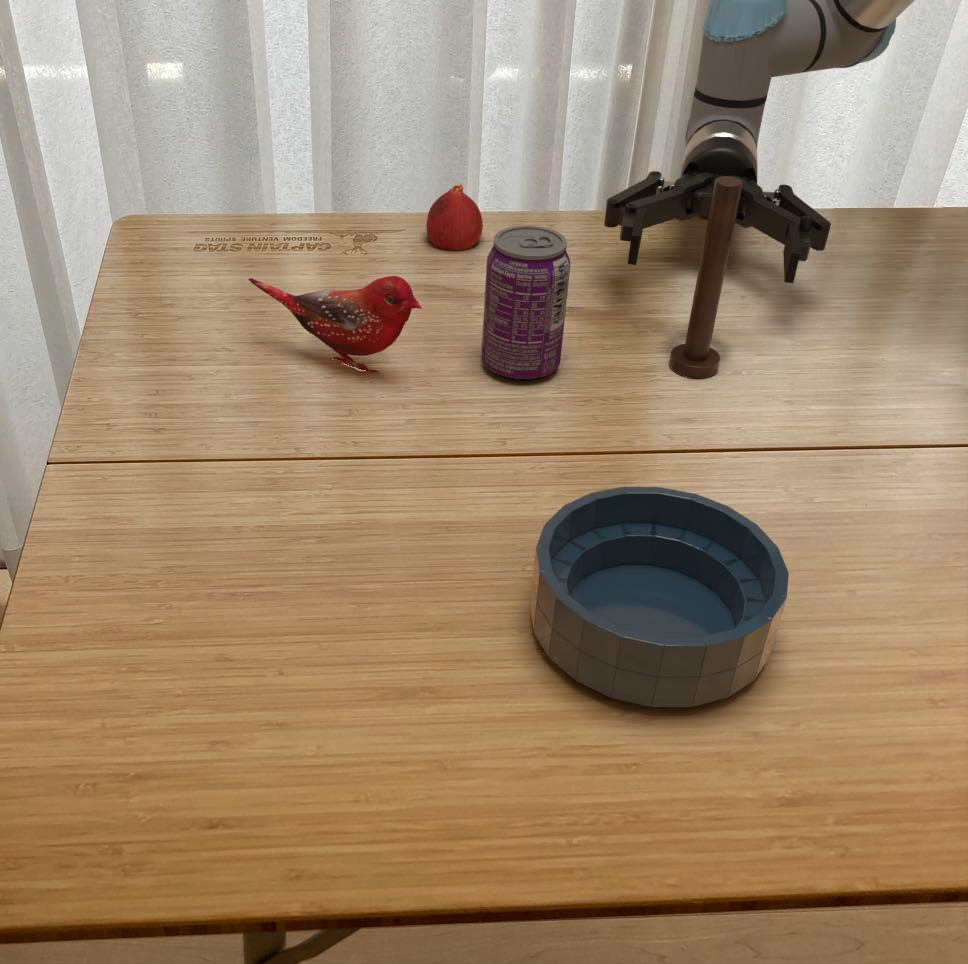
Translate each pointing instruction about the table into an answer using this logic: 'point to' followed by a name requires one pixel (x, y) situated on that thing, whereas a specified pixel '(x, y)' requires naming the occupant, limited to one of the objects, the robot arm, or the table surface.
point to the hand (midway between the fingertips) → (712, 259)
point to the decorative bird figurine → (352, 315)
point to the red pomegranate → (454, 221)
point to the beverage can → (525, 302)
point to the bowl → (657, 595)
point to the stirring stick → (709, 284)
